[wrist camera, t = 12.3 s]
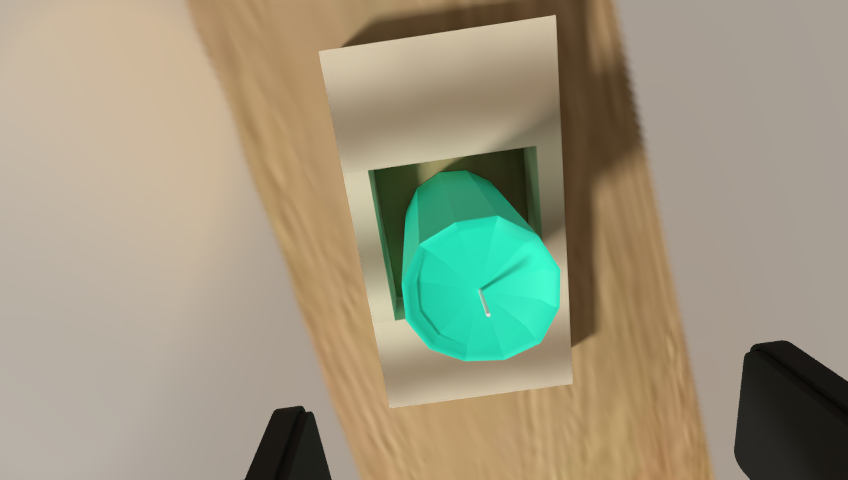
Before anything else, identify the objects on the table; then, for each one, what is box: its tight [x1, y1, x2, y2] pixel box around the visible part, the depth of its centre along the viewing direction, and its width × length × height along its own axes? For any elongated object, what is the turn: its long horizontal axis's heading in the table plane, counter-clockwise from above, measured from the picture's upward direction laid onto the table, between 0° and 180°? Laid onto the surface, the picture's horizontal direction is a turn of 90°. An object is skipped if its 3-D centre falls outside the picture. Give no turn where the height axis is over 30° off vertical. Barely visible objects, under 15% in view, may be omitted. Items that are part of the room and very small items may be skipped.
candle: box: [402, 170, 561, 361], centre depth 21 cm, size 6×6×12 cm
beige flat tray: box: [319, 15, 573, 408], centre depth 25 cm, size 20×11×3 cm, turn 8°
